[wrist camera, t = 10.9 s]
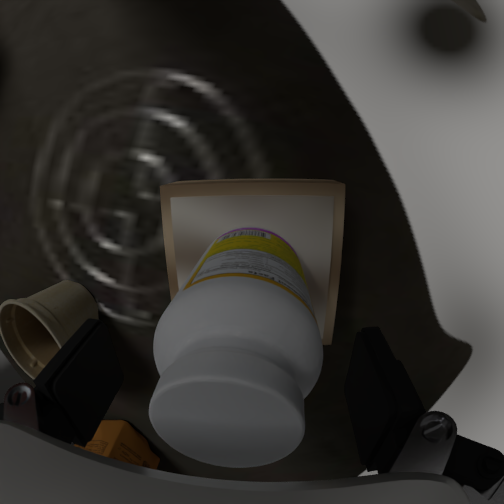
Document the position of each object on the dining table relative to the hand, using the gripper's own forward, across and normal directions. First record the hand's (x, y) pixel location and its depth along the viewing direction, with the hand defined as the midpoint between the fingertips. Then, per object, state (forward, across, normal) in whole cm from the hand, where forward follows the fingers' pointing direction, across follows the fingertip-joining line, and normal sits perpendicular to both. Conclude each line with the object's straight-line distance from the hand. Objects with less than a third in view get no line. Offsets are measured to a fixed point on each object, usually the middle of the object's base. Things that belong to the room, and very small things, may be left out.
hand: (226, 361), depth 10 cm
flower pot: (+14, +19, +7) cm, 25 cm away
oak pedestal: (+14, 0, +1) cm, 14 cm away
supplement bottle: (+10, 0, +1) cm, 10 cm away
